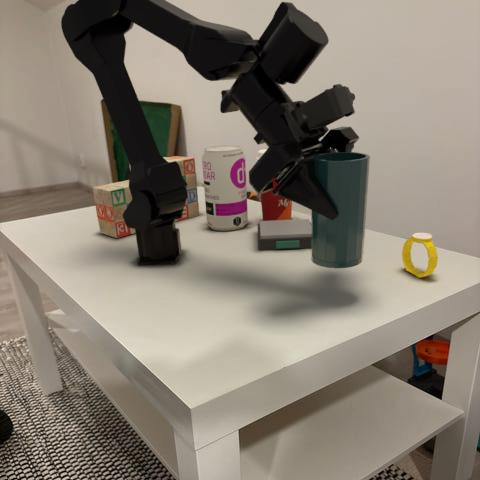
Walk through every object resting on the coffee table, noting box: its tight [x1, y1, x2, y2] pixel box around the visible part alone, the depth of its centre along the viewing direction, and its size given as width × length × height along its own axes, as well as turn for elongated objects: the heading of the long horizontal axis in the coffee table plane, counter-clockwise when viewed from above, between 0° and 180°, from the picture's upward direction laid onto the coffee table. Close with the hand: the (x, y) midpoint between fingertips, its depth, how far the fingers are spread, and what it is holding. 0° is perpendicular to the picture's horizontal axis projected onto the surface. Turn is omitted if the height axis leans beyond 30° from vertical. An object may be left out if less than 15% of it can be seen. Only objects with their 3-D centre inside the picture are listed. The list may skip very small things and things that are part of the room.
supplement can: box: [201, 145, 249, 232], centre depth 99 cm, size 8×8×15 cm
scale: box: [257, 218, 311, 251], centre depth 92 cm, size 10×10×2 cm
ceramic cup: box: [310, 151, 371, 269], centre depth 64 cm, size 7×7×13 cm
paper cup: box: [255, 148, 293, 221], centre depth 100 cm, size 8×8×14 cm
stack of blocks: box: [92, 155, 200, 239], centre depth 104 cm, size 21×6×12 cm, turn 136°
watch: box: [401, 232, 439, 279], centre depth 73 cm, size 6×3×6 cm, turn 22°
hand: (348, 210), depth 63 cm, fingers closed on ceramic cup, 7 cm apart
